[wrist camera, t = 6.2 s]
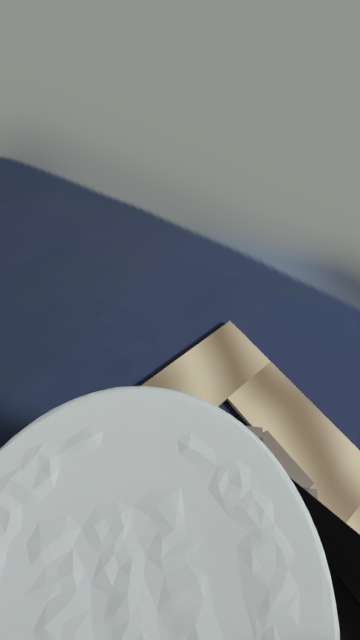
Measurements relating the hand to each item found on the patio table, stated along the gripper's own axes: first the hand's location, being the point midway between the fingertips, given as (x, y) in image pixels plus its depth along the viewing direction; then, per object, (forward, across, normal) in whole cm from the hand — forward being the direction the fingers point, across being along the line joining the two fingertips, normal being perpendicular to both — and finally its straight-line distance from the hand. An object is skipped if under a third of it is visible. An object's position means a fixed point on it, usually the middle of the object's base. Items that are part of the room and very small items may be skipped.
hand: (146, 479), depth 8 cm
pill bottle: (+4, 0, +6) cm, 7 cm away
